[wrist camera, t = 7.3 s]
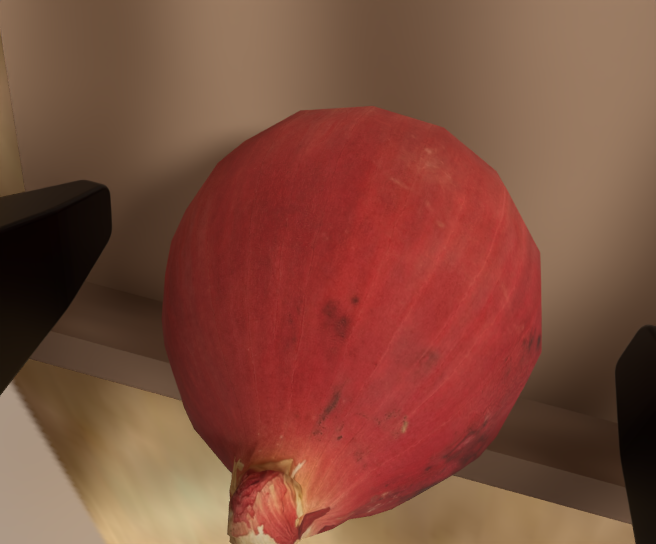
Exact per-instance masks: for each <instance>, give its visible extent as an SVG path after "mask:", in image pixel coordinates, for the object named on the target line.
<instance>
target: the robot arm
mask: <svg viewBox="0 0 656 544" xmlns="http://www.w3.org/2000/svg"><path fill="white" fill-rule="evenodd" d="M111 233H112V211H111V195H110V191H109V188H108V187H107V186H106V185H104V184H101V183H97V182H93V181H89V180H77V181H73V182H68V183H64V184H59V185H54V186H50V187H45V188H41V189H36V190H31V191H27V192H22V193H18V194H13V195H8V196H4V197H0V395H1V394H2V393H3V391H4V390H5V389H6V388H7V386H8V385H9V384H10V382H11V381H12V380H13V379H14V377H15V376H16V375H17V373H18V372H19V371H20V370H21V368H22V367H23V366H24V364H25V363H26V362H27V361H28V359H29V358H30V357H31V355H32V354H33V353H34V352H35V350H36V349H37V348H38V346H39V345H40V344H41V343H42V341H43V340H44V339H45V337H46V336H47V335H48V334H49V332H50V331H51V330H52V328H53V327H54V326H55V325H56V323H57V322H58V321H59V319H60V318H61V317H62V315H63V314H64V313H65V311H66V310H67V309H68V307H69V306H70V304H71V303H72V301H73V300H74V298H75V297H76V295H77V293H78V292H79V290H80V288H81V287H82V285H83V283H84V282H85V280H86V278H87V277H88V275H89V273H90V272H91V270H92V268H93V267H94V265H95V263H96V262H97V260H98V258H99V257H100V255H101V253H102V252H103V250H104V248H105V247H106V245H107V243H108V241H109V240H110V237H111ZM615 389H616V406H617V423H618V440H619V451H620V459H621V466H622V472H623V477H624V483H625V488H626V494H627V499H628V504H629V510H630V515H631V521H632V526H633V532H634V537H635V543H636V544H656V326H654V325H649V324H647V325H644V326H642V327H641V328H640V329H639V330H638V331H637V332H636V334H635V335H634V337H633V338H632V340H631V341H630V343H629V344H628V346H627V347H626V349H625V350H624V352H623V353H622V355H621V356H620V358H619V359H618V361H617V364H616V367H615Z"/></svg>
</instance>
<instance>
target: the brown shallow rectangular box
mask: <svg viewBox="0 0 656 544" xmlns="http://www.w3.org/2000/svg"><path fill="white" fill-rule="evenodd" d="M0 32H1V38H2V45H3V51H4V57H5V64H6V70H7V77H8V83H9V90H10V96H11V103H12V109H13V116H14V122H15V128H16V135H17V141H18V148H19V154H20V161H21V167H22V174H23V180H24V187H25V192H27V191H31V190H36V189H41V188H45V187H50V186H54V185H59V184H64V183H68V182H73V181H77V180H89V181H93V182H97V183H101V184H104V185H106V186H107V187H108V188H109V191H110V195H111V211H112V233H111V237H110V240H109V241H108V243H107V245H106V247H105V248H104V250H103V252H102V253H101V255H100V257H99V258H98V260H97V262H96V263H95V265H94V267H93V268H92V270H91V272H90V273H89V275H88V277H87V278H86V280H85V282H84V283H83V285H82V287H81V288H80V290H79V292H78V293H77V295H76V297H75V298H74V300H73V301H72V303H71V304H70V306H69V307H68V309H67V310H66V311H65V313H64V314H63V315H62V317H61V318H60V319H59V321H58V322H57V323H56V325H55V326H54V327H53V328H52V330H51V331H50V332H49V334H48V335H47V336H46V337H45V339H44V340H43V341H42V343H41V344H40V345H39V346H38V348H37V349H36V350H35V352H34V353H33V354H32V355H31V357H30V358H29V359H33V360H36V361H40V362H44V363H47V364H51V365H55V366H58V367H62V368H65V369H69V370H73V371H76V372H80V373H84V374H87V375H91V376H94V377H98V378H102V379H105V380H109V381H113V382H116V383H120V384H124V385H127V386H131V387H134V388H138V389H142V390H145V391H149V392H153V393H156V394H160V395H164V396H167V397H171V398H174V399H178V400H182V399H181V396H180V393H179V390H178V387H177V384H176V381H175V378H174V375H173V372H172V369H171V366H170V362H169V359H168V356H167V352H166V349H165V346H164V337H163V328H162V307H163V295H164V282H165V272H166V267H167V261H168V256H169V250H170V245H171V241H172V239H173V236H174V234H175V232H176V230H177V228H178V226H179V224H180V221H181V219H182V217H183V215H184V213H185V211H186V209H187V207H188V206H189V204H190V203H191V202H192V200H193V199H194V197H195V196H196V194H197V193H198V191H199V190H200V188H201V187H202V185H203V184H204V182H205V181H206V179H207V178H208V177H209V175H210V174H211V172H212V171H213V169H214V168H215V166H216V165H217V163H218V162H219V161H221V160H222V159H223V158H224V157H226V156H227V155H228V154H229V153H230V152H232V151H233V150H234V149H235V148H237V147H238V146H239V145H240V144H241V143H243V142H244V141H246V140H247V139H249V138H251V137H253V136H255V135H257V134H258V133H260V132H262V131H264V130H266V129H267V128H269V127H271V126H273V125H275V124H276V123H278V122H280V121H282V120H284V119H286V118H287V117H289V116H291V115H293V114H295V113H296V112H298V111H300V110H315V109H332V108H348V107H364V106H375V107H378V108H381V109H385V110H388V111H391V112H394V113H398V114H401V115H404V116H408V117H411V118H414V119H417V120H421V121H424V122H427V123H431V124H434V125H437V126H440V127H444V128H445V129H446V130H447V131H449V132H450V133H451V134H452V135H453V136H455V137H456V138H457V139H458V140H460V141H461V142H462V143H463V144H464V145H466V146H467V147H468V148H469V149H470V150H472V151H473V152H474V153H475V154H476V155H478V156H479V157H480V158H481V159H482V160H484V161H485V162H486V163H487V164H488V165H490V166H491V167H492V168H493V169H494V170H496V171H497V173H498V175H499V176H500V178H501V180H502V182H503V183H504V185H505V187H506V189H507V190H508V192H509V194H510V196H511V198H512V200H513V202H514V204H515V206H516V207H517V209H518V211H519V213H520V215H521V217H522V219H523V221H524V223H525V225H526V226H527V228H528V230H529V232H530V234H531V236H532V238H533V240H534V242H535V244H536V245H537V247H538V249H539V251H540V258H541V305H542V352H541V354H540V356H539V358H538V360H537V362H536V364H535V366H534V368H533V370H532V373H531V375H530V377H529V379H528V381H527V382H526V384H525V386H524V388H523V390H522V391H521V393H520V395H519V397H518V399H517V401H516V402H515V404H514V406H513V408H512V410H511V411H510V413H509V415H508V417H507V419H506V420H505V422H504V424H503V426H502V428H501V429H500V431H499V433H498V435H497V437H496V438H495V439H494V440H493V441H492V443H491V444H490V445H489V446H488V447H487V448H486V450H485V451H484V452H483V453H482V454H481V456H480V457H479V458H477V459H476V460H474V461H473V462H471V463H470V464H469V465H467V466H466V467H464V468H463V469H461V470H460V471H458V472H457V473H455V474H454V476H458V477H461V478H465V479H469V480H472V481H476V482H480V483H483V484H487V485H490V486H494V487H498V488H501V489H505V490H509V491H512V492H516V493H519V494H523V495H527V496H530V497H534V498H538V499H541V500H545V501H549V502H552V503H556V504H559V505H563V506H567V507H570V508H574V509H578V510H581V511H585V512H589V513H592V514H596V515H599V516H603V517H607V518H610V519H614V520H618V521H621V522H625V523H628V524H632V521H631V515H630V510H629V504H628V499H627V494H626V488H625V483H624V477H623V472H622V466H621V459H620V451H619V440H618V423H617V406H616V389H615V367H616V364H617V361H618V359H619V358H620V356H621V355H622V353H623V352H624V350H625V349H626V347H627V346H628V344H629V343H630V341H631V340H632V338H633V337H634V335H635V334H636V332H637V331H638V330H639V329H640V328H641V327H642V326H644V325H647V324H649V325H654V326H656V0H0Z"/></svg>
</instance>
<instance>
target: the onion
mask: <svg viewBox="0 0 656 544" xmlns="http://www.w3.org/2000/svg"><path fill="white" fill-rule="evenodd" d="M162 328H163V337H164V346H165V349H166V352H167V356H168V359H169V362H170V366H171V369H172V372H173V375H174V378H175V381H176V384H177V387H178V390H179V393H180V396H181V399H182V402H183V405H184V408H185V410H186V412H187V415H188V417H189V419H190V421H191V423H192V425H193V427H194V429H195V430H196V432H197V433H198V434H199V435H200V436H201V438H202V439H203V440H204V441H205V442H206V444H207V445H208V446H209V447H210V448H211V450H212V451H213V452H214V453H215V454H216V456H217V457H218V458H219V459H220V460H221V461H222V463H223V464H224V465H225V466H226V467H227V469H228V470H229V471H230V472H231V473H232V480H231V486H230V502H229V515H228V531H227V535H229V536H230V543H232V544H297V543H298V542H299V541H301V540H302V539H304V538H307V537H310V536H313V535H316V534H319V533H322V532H325V531H328V530H331V529H333V528H335V527H337V526H338V525H340V524H342V523H344V522H345V521H347V520H349V519H354V518H360V517H366V516H372V515H375V514H378V513H381V512H384V511H387V510H390V509H393V508H395V507H396V506H398V505H400V504H402V503H404V502H406V501H408V500H410V499H412V498H413V497H415V496H417V495H419V494H420V493H422V492H424V491H426V490H427V489H429V488H431V487H433V486H434V485H436V484H438V483H440V482H441V481H443V480H445V479H447V478H448V477H450V476H452V475H454V474H455V473H457V472H458V471H460V470H461V469H463V468H464V467H466V466H467V465H469V464H470V463H471V462H473V461H474V460H476V459H477V458H479V457H480V456H481V454H482V453H483V452H484V451H485V450H486V448H487V447H488V446H489V445H490V444H491V443H492V441H493V440H494V439H495V438H496V437H497V435H498V433H499V431H500V429H501V428H502V426H503V424H504V422H505V420H506V419H507V417H508V415H509V413H510V411H511V410H512V408H513V406H514V404H515V402H516V401H517V399H518V397H519V395H520V393H521V391H522V390H523V388H524V386H525V384H526V382H527V381H528V379H529V377H530V375H531V373H532V370H533V368H534V366H535V364H536V362H537V360H538V358H539V356H540V354H541V352H542V305H541V258H540V251H539V249H538V247H537V245H536V244H535V242H534V240H533V238H532V236H531V234H530V232H529V230H528V228H527V226H526V225H525V223H524V221H523V219H522V217H521V215H520V213H519V211H518V209H517V207H516V206H515V204H514V202H513V200H512V198H511V196H510V194H509V192H508V190H507V189H506V187H505V185H504V183H503V182H502V180H501V178H500V176H499V175H498V173H497V171H496V170H494V169H493V168H492V167H491V166H490V165H488V164H487V163H486V162H485V161H484V160H482V159H481V158H480V157H479V156H478V155H476V154H475V153H474V152H473V151H472V150H470V149H469V148H468V147H467V146H466V145H464V144H463V143H462V142H461V141H460V140H458V139H457V138H456V137H455V136H453V135H452V134H451V133H450V132H449V131H447V130H446V129H445V128H444V127H440V126H437V125H434V124H431V123H427V122H424V121H421V120H417V119H414V118H411V117H408V116H404V115H401V114H398V113H394V112H391V111H388V110H385V109H381V108H378V107H375V106H364V107H348V108H332V109H315V110H300V111H298V112H296V113H295V114H293V115H291V116H289V117H287V118H286V119H284V120H282V121H280V122H278V123H276V124H275V125H273V126H271V127H269V128H267V129H266V130H264V131H262V132H260V133H258V134H257V135H255V136H253V137H251V138H249V139H247V140H246V141H244V142H243V143H241V144H240V145H239V146H238V147H237V148H235V149H234V150H233V151H232V152H230V153H229V154H228V155H227V156H226V157H224V158H223V159H222V160H221V161H219V162H218V163H217V165H216V166H215V168H214V169H213V171H212V172H211V174H210V175H209V177H208V178H207V179H206V181H205V182H204V184H203V185H202V187H201V188H200V190H199V191H198V193H197V194H196V196H195V197H194V199H193V200H192V202H191V203H190V204H189V206H188V207H187V209H186V211H185V213H184V215H183V217H182V219H181V221H180V224H179V226H178V228H177V230H176V232H175V234H174V236H173V239H172V241H171V245H170V250H169V256H168V261H167V267H166V272H165V282H164V295H163V307H162Z"/></svg>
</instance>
